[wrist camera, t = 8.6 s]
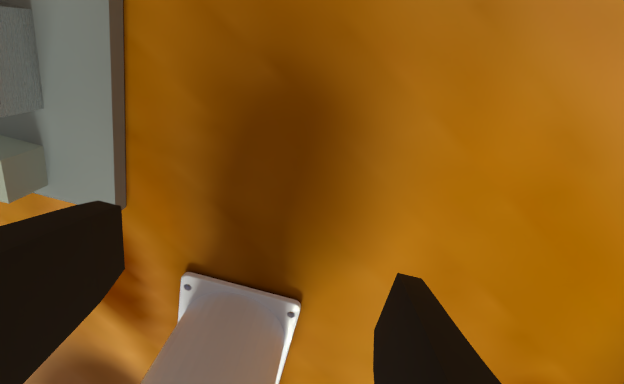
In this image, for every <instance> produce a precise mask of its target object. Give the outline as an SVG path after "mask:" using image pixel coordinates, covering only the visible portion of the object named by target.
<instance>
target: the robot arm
mask: <svg viewBox="0 0 624 384" xmlns="http://www.w3.org/2000/svg"><path fill="white" fill-rule="evenodd" d="M124 269H125V266H124V248H123V231H122V214H121V206H119V205H115V204H111V203H107V202H103V201H99V200H98V201H93V202H88V203H83V204H79V205H75V206H71V207H67V208H64V209H60V210H56V211H53V212H49V213H46V214H42V215H39V216H35V217H32V218H28V219H25V220H21V221H18V222H14V223H10V224H7V225H3V226H0V384H23V383H24V382H25V381H26V380H27V379H28V378H29V377H30V376H31V375H32V374H33V373H34V372H35V371H36V369H37V368H38V367H39V366H40V365H41V364H42V363H43V362H44V361H45V360H46V359H47V358H48V357H49V356H50V355H51V354H52V353H53V352H54V351H55V350H56V349H57V348H58V346H59V345H60V344H61V343H62V342H63V341H64V340H65V339H66V338H67V337H68V336H69V335H70V334H71V333H72V332H73V331H74V330H75V329H76V328H77V327H78V325H79V324H80V323H81V322H82V321H83V320H84V319H85V318H86V317H87V316H88V315H89V314H90V313H91V312H92V311H93V309H94V308H95V307H96V306H97V305H98V304H99V303H100V302H101V300H102V299H103V298H104V296H105V295H106V294H107V293H108V291H109V290H110V289H111V287H112V286H113V285H114V283H115V282H116V280H117V279H118V277H119V276H120V275H121V273H122V272H123V270H124ZM187 284H188V285H190V286H188V285H187ZM300 309H301V304H300V302H298V301H297V300H294V299H291V298H287V297H283V296H279V295H276V294H272V293H268V292H264V291H260V290H257V289H253V288H249V287H245V286H241V285H238V284H234V283H230V282H226V281H223V280H219V279H215V278H211V277H207V276H204V275H200V274H196V273H192V272H186V273H184V275H183V276H182V278H181V286H180V299H179V312H178V324H177V325H176V327H175V329H174V330H173V332H172V333H171V335H170V337H169V338H168V340H167V341H166V343H165V345H164V346H163V348H162V349H161V351H160V353H159V354H158V356H157V357H156V359H155V361H154V362H153V364H152V365H151V367H150V369H149V370H148V372H147V373H146V375H145V377H144V378H143V380H142V381H141V383H140V384H279V381H280V378H281V374H282V371H283V367H284V364H285V361H286V357H287V354H288V350H289V347H290V344H291V340H292V337H293V333H294V330H295V327H296V323H297V320H298V316H299V313H300ZM290 312H293V313H290ZM373 372H374V384H501V383H500V381H499V380H498V379H497V378H496V377H495V375H494V374H493V373H492V372H491V370H490V369H489V368H488V367H487V365H486V364H485V363H484V362H483V360H482V359H481V358H480V356H479V355H478V354H477V353H476V351H475V350H474V349H473V347H472V346H471V345H470V343H469V342H468V341H467V339H466V338H465V337H464V335H463V334H462V333H461V331H460V330H459V329H458V327H457V326H456V325H455V323H454V322H453V321H452V319H451V318H450V316H449V315H448V314H447V312H446V311H445V310H444V308H443V307H442V305H441V304H440V303H439V301H438V300H437V299H436V297H435V296H434V294H433V293H432V292H431V290H430V289H429V288H428V286H427V285H426V284H425V282H424V281H423V280H422V279H421V278H417V277H413V276H408V275H404V274H400V273H397V276H396V278H395V281H394V283H393V286H392V288H391V290H390V293H389V295H388V298H387V300H386V303H385V305H384V308H383V310H382V312H381V315H380V317H379V320H378V322H377V325H376V327H375V330H374V361H373Z"/></svg>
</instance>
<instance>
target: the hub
mask: <svg viewBox="0 0 624 384" xmlns="http://www.w3.org/2000/svg"><path fill="white" fill-rule="evenodd" d="M40 109H44V103H43V95H42V86H41V78H40V70H39V62H38V53H37V45H36V37H35V29H34V20H33V12H32V9H28V8H24V7H20V6H16V5H13V4H9V3H5V2H1V1H0V118H2V117H7V116H11V115H16V114H21V113H25V112H30V111H35V110H40Z"/></svg>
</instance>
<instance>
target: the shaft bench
mask: <svg viewBox="0 0 624 384" xmlns="http://www.w3.org/2000/svg"><path fill="white" fill-rule="evenodd" d="M0 1H1V2H5V3H9V4H13V5H16V6H20V7H24V8H28V9H32V12H33V20H34V29H35V37H36V45H37V53H38V62H39V70H40V78H41V86H42V95H43V103H44V109H40V110H35V111H30V112H25V113H21V114H16V115H11V116H7V117H2V118H0V201H1V202H5V203H11V202H13V201H15V200H17V199H19V198H22V197H24V196H26V195H28V194H30V193H36V194H40V195H43V196H47V197H51V198H55V199H59V200H62V201H66V202H70V203H74V204H77V205H79V204H83V203H88V202H93V201H98V200H99V201H103V202H107V203H111V204H115V205H119V206H121V210H122V209H124V208H125V207H126V169H125V102H124V36H123V0H0Z"/></svg>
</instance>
